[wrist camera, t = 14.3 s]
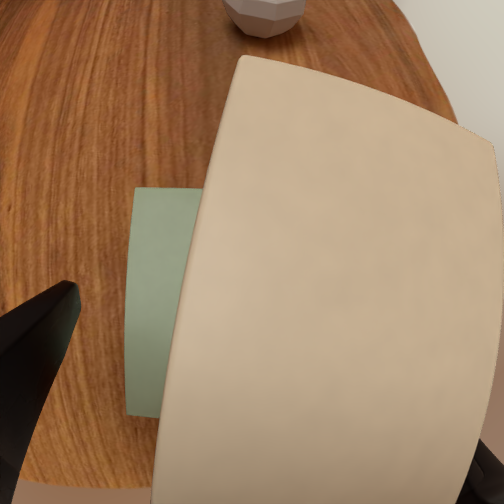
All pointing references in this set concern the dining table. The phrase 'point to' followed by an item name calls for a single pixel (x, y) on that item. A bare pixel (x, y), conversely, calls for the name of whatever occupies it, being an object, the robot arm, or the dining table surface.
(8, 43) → the dining table surface
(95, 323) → the dining table surface
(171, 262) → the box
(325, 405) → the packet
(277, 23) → the apple
